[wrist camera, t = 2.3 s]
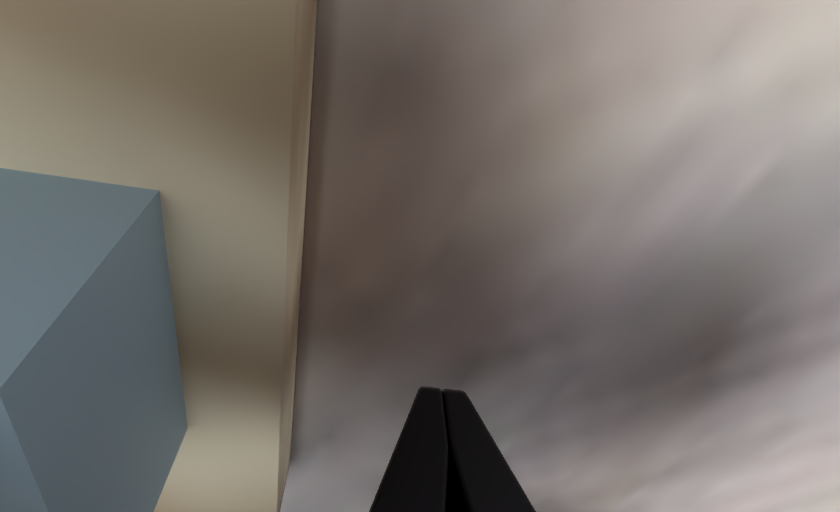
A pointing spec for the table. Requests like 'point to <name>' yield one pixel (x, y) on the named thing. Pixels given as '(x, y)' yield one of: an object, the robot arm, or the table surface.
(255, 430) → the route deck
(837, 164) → the table surface
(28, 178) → the blue block
